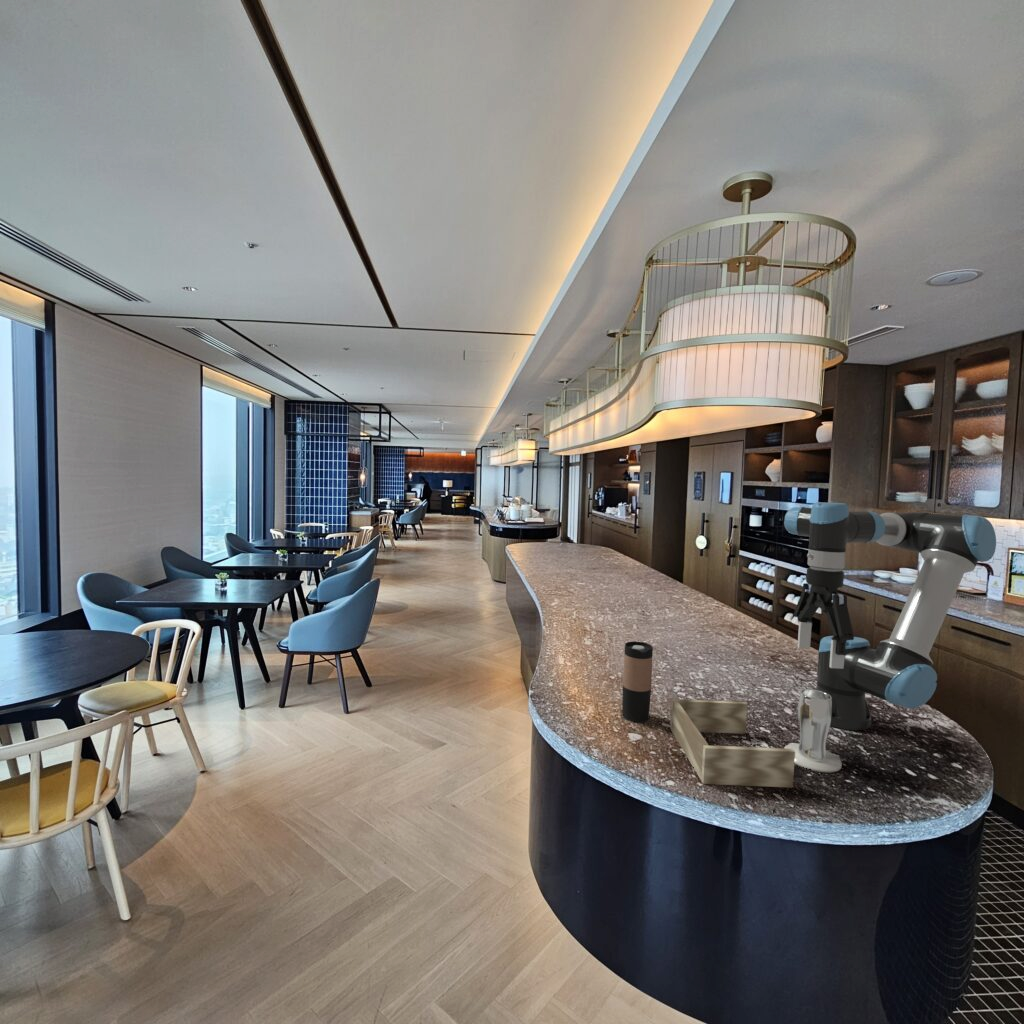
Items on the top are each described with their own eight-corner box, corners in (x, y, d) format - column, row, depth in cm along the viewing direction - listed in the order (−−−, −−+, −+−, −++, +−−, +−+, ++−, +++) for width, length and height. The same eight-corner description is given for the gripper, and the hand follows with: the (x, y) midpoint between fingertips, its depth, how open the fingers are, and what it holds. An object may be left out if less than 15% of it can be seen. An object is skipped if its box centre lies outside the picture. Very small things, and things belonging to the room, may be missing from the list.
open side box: (743, 731, 139) (745, 701, 138) (792, 787, 114) (795, 751, 113) (670, 728, 139) (671, 699, 138) (703, 783, 114) (705, 748, 113)
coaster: (822, 746, 132) (823, 744, 132) (853, 773, 120) (853, 771, 120) (774, 744, 132) (774, 742, 132) (799, 771, 120) (800, 768, 120)
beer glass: (797, 759, 124) (801, 697, 123) (793, 745, 131) (797, 686, 130) (831, 765, 122) (835, 702, 121) (825, 751, 128) (829, 691, 127)
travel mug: (629, 708, 151) (632, 639, 150) (654, 716, 146) (657, 645, 145) (616, 716, 145) (619, 645, 144) (642, 725, 140) (645, 652, 139)
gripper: (782, 559, 136) (777, 640, 137) (841, 578, 111) (834, 676, 112) (812, 560, 135) (806, 641, 137) (877, 579, 111) (870, 678, 112)
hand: (819, 657), depth 124 cm, fingers open, 13 cm apart
